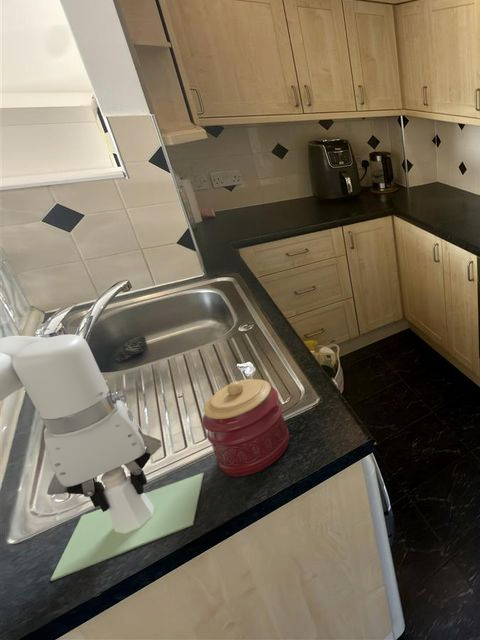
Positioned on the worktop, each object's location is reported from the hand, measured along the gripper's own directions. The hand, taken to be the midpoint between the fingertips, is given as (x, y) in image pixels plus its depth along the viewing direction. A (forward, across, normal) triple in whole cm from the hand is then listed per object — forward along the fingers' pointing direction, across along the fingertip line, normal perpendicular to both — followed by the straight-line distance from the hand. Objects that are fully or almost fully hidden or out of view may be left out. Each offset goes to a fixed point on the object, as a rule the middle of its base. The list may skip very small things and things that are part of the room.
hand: (123, 496), depth 69 cm
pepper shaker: (+6, 0, 0) cm, 6 cm away
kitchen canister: (+6, -19, -2) cm, 20 cm away
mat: (+6, 0, 0) cm, 6 cm away
